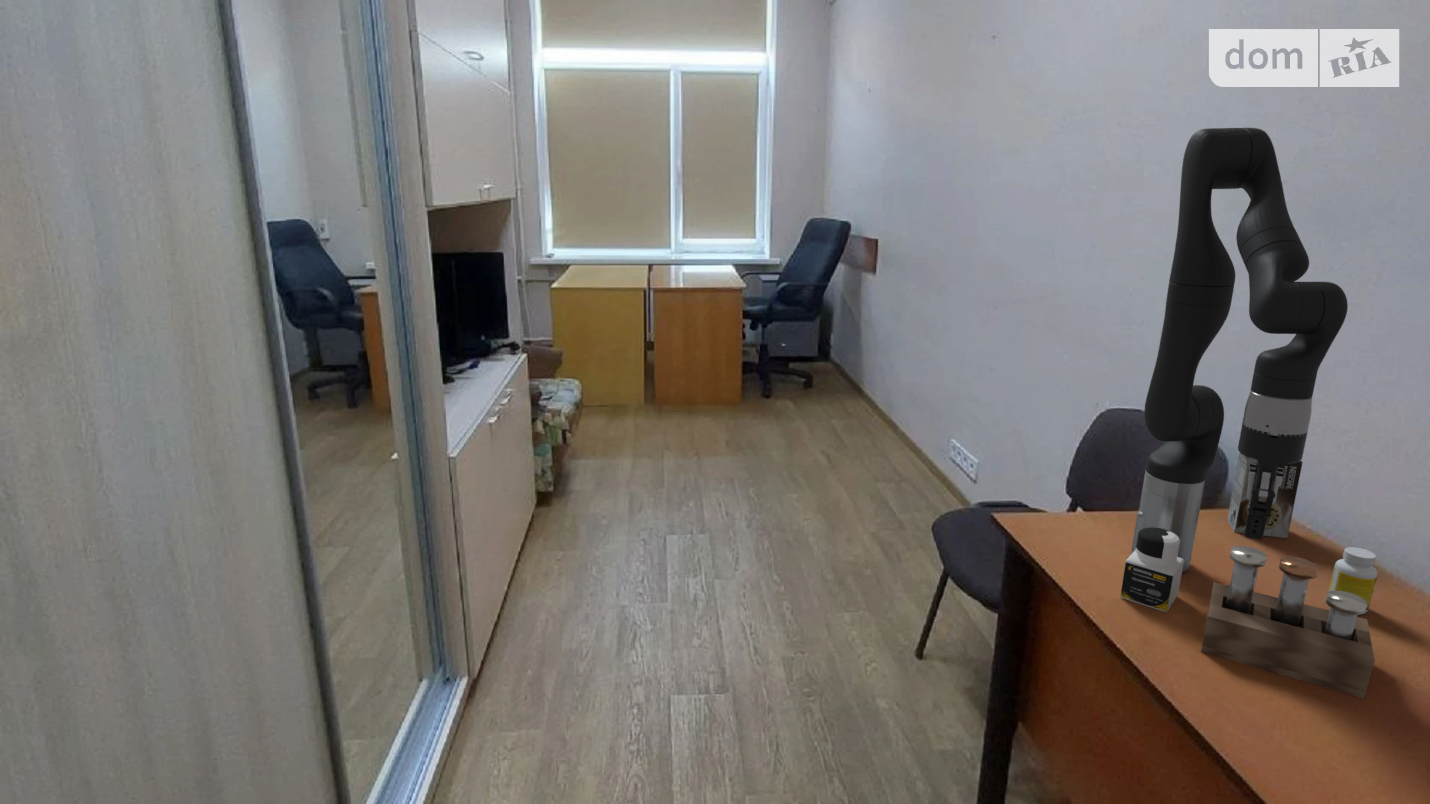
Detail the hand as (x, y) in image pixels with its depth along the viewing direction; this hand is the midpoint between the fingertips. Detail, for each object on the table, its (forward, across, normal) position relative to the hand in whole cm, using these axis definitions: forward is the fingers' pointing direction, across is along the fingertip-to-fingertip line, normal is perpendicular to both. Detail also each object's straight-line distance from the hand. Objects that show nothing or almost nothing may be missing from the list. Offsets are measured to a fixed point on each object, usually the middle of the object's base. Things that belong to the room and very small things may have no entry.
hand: (1253, 536), depth 113 cm
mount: (+17, 0, +6) cm, 18 cm away
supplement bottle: (+18, -22, +15) cm, 32 cm away
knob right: (+17, 0, +12) cm, 20 cm away
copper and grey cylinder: (+13, 0, +6) cm, 14 cm away
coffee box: (+17, -48, +2) cm, 51 cm away
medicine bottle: (+18, -7, -12) cm, 23 cm away
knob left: (+13, 0, 0) cm, 13 cm away
